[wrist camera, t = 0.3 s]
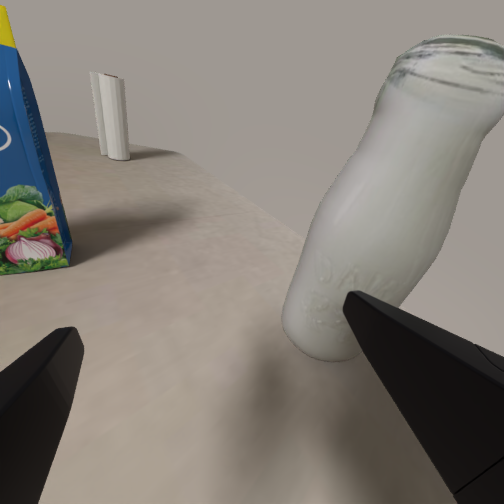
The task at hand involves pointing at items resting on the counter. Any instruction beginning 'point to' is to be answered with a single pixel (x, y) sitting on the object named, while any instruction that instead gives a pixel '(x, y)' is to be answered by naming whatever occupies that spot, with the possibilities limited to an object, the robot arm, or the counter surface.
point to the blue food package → (26, 174)
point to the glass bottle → (396, 189)
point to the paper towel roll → (111, 115)
